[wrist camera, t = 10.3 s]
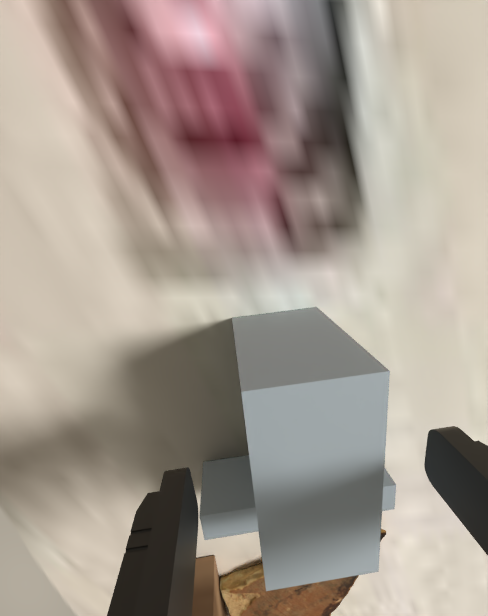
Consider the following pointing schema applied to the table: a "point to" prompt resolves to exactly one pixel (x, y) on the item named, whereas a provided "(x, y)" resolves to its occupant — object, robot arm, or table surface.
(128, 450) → the table surface
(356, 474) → the grey inverted t block
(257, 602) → the shard
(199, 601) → the corner fence
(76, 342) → the table surface
